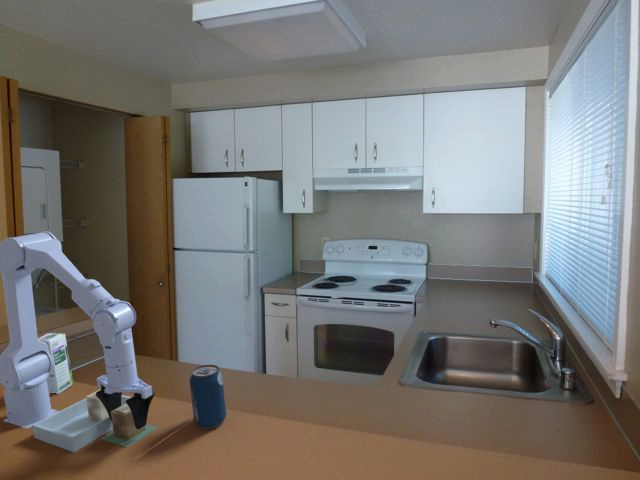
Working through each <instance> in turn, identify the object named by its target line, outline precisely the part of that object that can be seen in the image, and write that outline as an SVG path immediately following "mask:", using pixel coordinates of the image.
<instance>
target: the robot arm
mask: <svg viewBox="0 0 640 480" xmlns="http://www.w3.org/2000/svg"><path fill="white" fill-rule="evenodd" d="M36 269H45V270H46V271H48V272H49V273H50V274H51V275H52V276H53V277H55V278H56V279H57V280H59V282H61V283H63V285H65V286H66V287H67V288H69V290H70V291H71V299H72V301H73V302H74V303H75V304H76V305H77V306H78V307H79V308H80V309H82V310H83V312H85V314H87V316H89V318H91V319H92V320H93V322H92V327H93V330H94V331H95V333H96V334H97V336H98V339H99V340H98V341H99V343H100V345H101V346H102V348H103V355H104V356H103V357H104V363H105V371H106V374H103V375H101V376H99V377H97V378H96V385H97V386H96V387H97V388H100V389H101V390H100V389H99V390H100V391H98V390H97V391H98V392H96V391H95V392H96V396H97V397H98V398H99V399H100V401H101V402H102V403H103V405H104V407H105V408H106V410H107V413H108V415H109V417H110V419H111V421H112V417H111V411H113V410H115V409H116V408H118V407H120V406H121V396H122V395H123V393H127V394H128V393H130V394H132V395H133V396H132V398H130V399H128V400H126V403H127V405H128V406H129V408H130V410H131V412H132V415H133V419H134V424H135V427H136V429H138V430H139V429H141V428H142V427H144V426H145V425H146V424H147V422H148V414H149V411H150V410H149V409H150V407H151V403H152V400H153V399H154V397H155V392H154V390H153V387H152V385H150V384H147V383H146V382H144V381H143V380H142V379H140V377H138V371H137V370H138V369H137V362H136V356H135V355H136V354H135V348H134V347H135V346H134V338H133V333H132V331H133V330H132V327H134V325H135V324H136V322H137V313H136V310H135V309H134V307H133V306H132V305H131V304H130V302H128V301H125V300H120V299H119V298H115V297H113V295H112V294H110V293H109V291H108V290H106V289H105V288H104V287H103V286H102V285H101V283H100V282H99V281H98V280H96V279H88V278H85V277H84V275H83V274H82V273H81V272H80V271H79V270H78V269H77V268H76V266H75V265H74V264H73V263H72V262H71V260H70V259H68V257H67V256H66V254H64V253H63V251H62V244H61V240H59V239H57V238H56V236H55V235H54V233H52V232H50V231H47V230H44V231H40V232H38V233H37V232H36V233H31V234H26V235H25V234H24V235H20V236H15V237H6V238H4V239H3V240H2V241H1V242H0V274H1V279H2V285H3V286H2V287H3V293H4V295H3V297H4V301H5V302H4V304H5V311H6V312H5V313H6V321H7V330H8V335H9V337H8V339H9V344H8V346H7V347H6V348H5V349H4V350H3V352H2V353H1V354H0V384H1V385H2V386H3V387H5V389H4V392H3V398H4V404H5V408H6V409H5V410H6V415H7V417H6V418H5V419H3V422H4V423H10V424H12V425H15V426H18V427H21V428H23V429H29V428H33V426H32V425H34V424H36V423H38V422H40V421H42V420H44V419H46V418H48V417H50V416H52V415H54V414H55V413H57V412H59V411H60V410H57V409H54V408H52V407H51V406H52V405H51V404H52V403H51V400H50V399H51V398H50V394H49V392H48V386H47V379H46V378H47V377H49V372H50V371H51V369H52V366H53V360H52V357H51V355H50V353H49V350H48V345H47V344H46V343H44V342H42V341H39V340H38V338H39V337H38V331H37V330H38V329H37V320H36V319H37V318H36V311H35V310H36V309H35V302H34V293H33V284H32V283H33V282H32V273H33V272H34V271H35V270H36Z"/></svg>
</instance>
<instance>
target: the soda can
mask: <svg viewBox="0 0 640 480" xmlns="http://www.w3.org/2000/svg"><path fill="white" fill-rule="evenodd" d="M189 387H190V397H191V407H192V417H193V421H194V423H195V424H196V425H197V426H198V427H199V428H201V429H204V430H210V429H215V428H217V427H219V426H221V425H222V424H223V423H224V421H225V419H226V417H227V409H226V408H227V406H226V398H225V387H224V377H223V374H222V372H221V371H220V368H219V366H217V365H215V364H204V365H200V366H198V367H195V368H194V369H192V370H191V375H190V378H189ZM214 427H215V428H214Z"/></svg>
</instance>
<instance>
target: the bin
mask: <svg viewBox="0 0 640 480" xmlns="http://www.w3.org/2000/svg"><path fill="white" fill-rule="evenodd" d="M132 397H133V396H132ZM132 397H131V396H128V395H123V394H122V396H121V406H122V405H123V404H125V403H126V400H128V399H130V398H132ZM58 411H59V412H58ZM58 411H56V412H57V413H55V414H54V415H52V416H50V417H48V418H46V419H44V420H42V421H40V422H38V423H36V424H34V425H32V431H33V436H34V439H37V440H39V441H42V442H45V443H48V444H49V445H53V446H56V447H59V448H62V449H64V450H67V451H69V452H72V453H76V452H77V451H79V450H80V449H82V448H84V447H85V446H87V445H90V444H91V443H92V442H94V441H95V440H96V441H97V439H99V438H100V437H101V438H102V436H103V435H106V434H107V433H110V431H113V424H112V421H111V419H110V417H109V416H108V417H106V418H105V419H103V420H101V421H99V422H97V421H93V420H90V419H89V414H88V407H87V400H86V397H85V398H84V399H82V400H80V401H77V402H75V403H74V404H71V405H69V406H68V407H65V408H63V409H62V410H58Z"/></svg>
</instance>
